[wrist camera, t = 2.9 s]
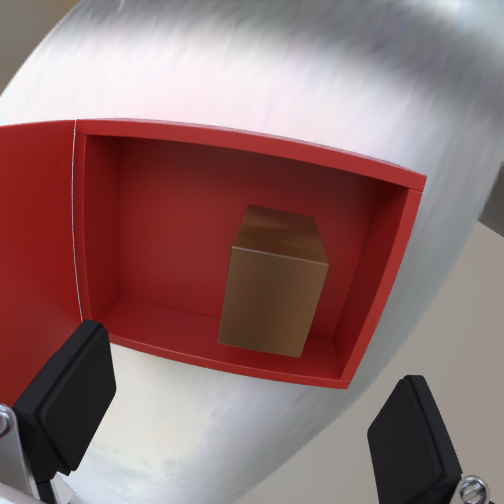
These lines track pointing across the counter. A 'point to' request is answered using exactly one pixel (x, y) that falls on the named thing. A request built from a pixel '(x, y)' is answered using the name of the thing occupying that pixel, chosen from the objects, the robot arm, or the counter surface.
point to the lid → (35, 250)
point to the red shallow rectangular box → (229, 238)
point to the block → (272, 282)
